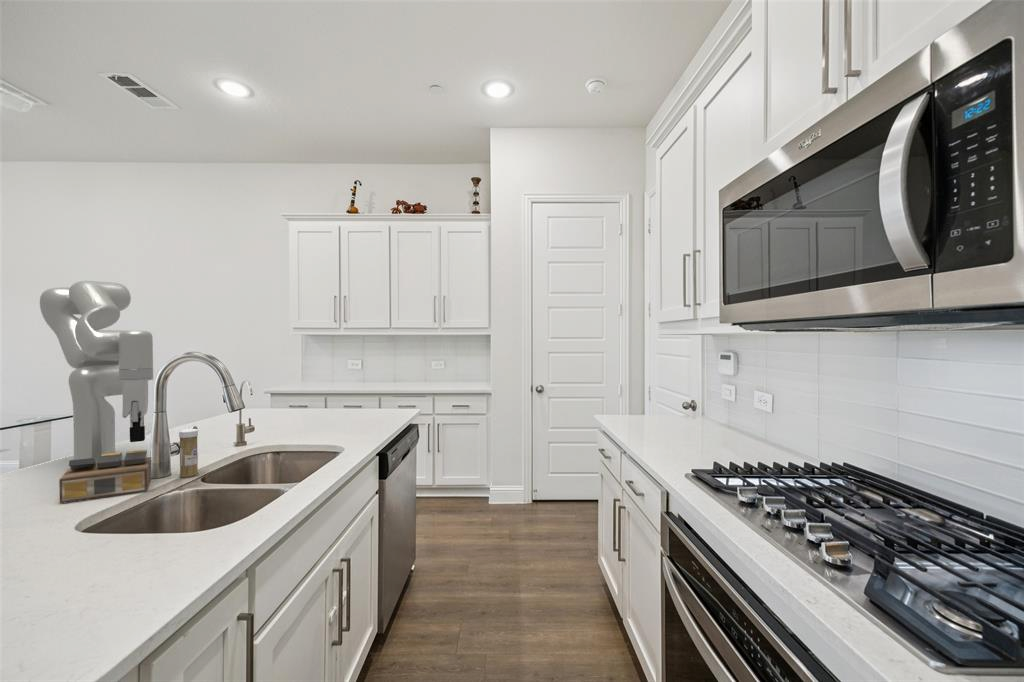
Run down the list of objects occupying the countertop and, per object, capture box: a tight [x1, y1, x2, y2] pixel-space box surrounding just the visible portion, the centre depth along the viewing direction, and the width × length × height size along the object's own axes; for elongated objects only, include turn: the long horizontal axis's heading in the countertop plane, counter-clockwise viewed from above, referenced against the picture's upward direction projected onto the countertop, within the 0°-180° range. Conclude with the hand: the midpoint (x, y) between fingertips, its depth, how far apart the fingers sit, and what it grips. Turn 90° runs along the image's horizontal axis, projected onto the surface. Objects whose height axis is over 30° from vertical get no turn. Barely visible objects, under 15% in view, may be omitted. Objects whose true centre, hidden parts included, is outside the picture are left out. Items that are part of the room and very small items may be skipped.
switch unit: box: [58, 456, 152, 504], centre depth 127 cm, size 14×17×6 cm
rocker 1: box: [68, 458, 96, 470], centre depth 125 cm, size 6×4×2 cm
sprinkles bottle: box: [178, 428, 199, 478], centre depth 140 cm, size 5×5×14 cm
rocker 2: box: [97, 451, 123, 468], centre depth 128 cm, size 6×4×2 cm
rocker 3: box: [123, 449, 148, 465], centre depth 131 cm, size 6×4×2 cm
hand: (137, 441), depth 133 cm, fingers closed
